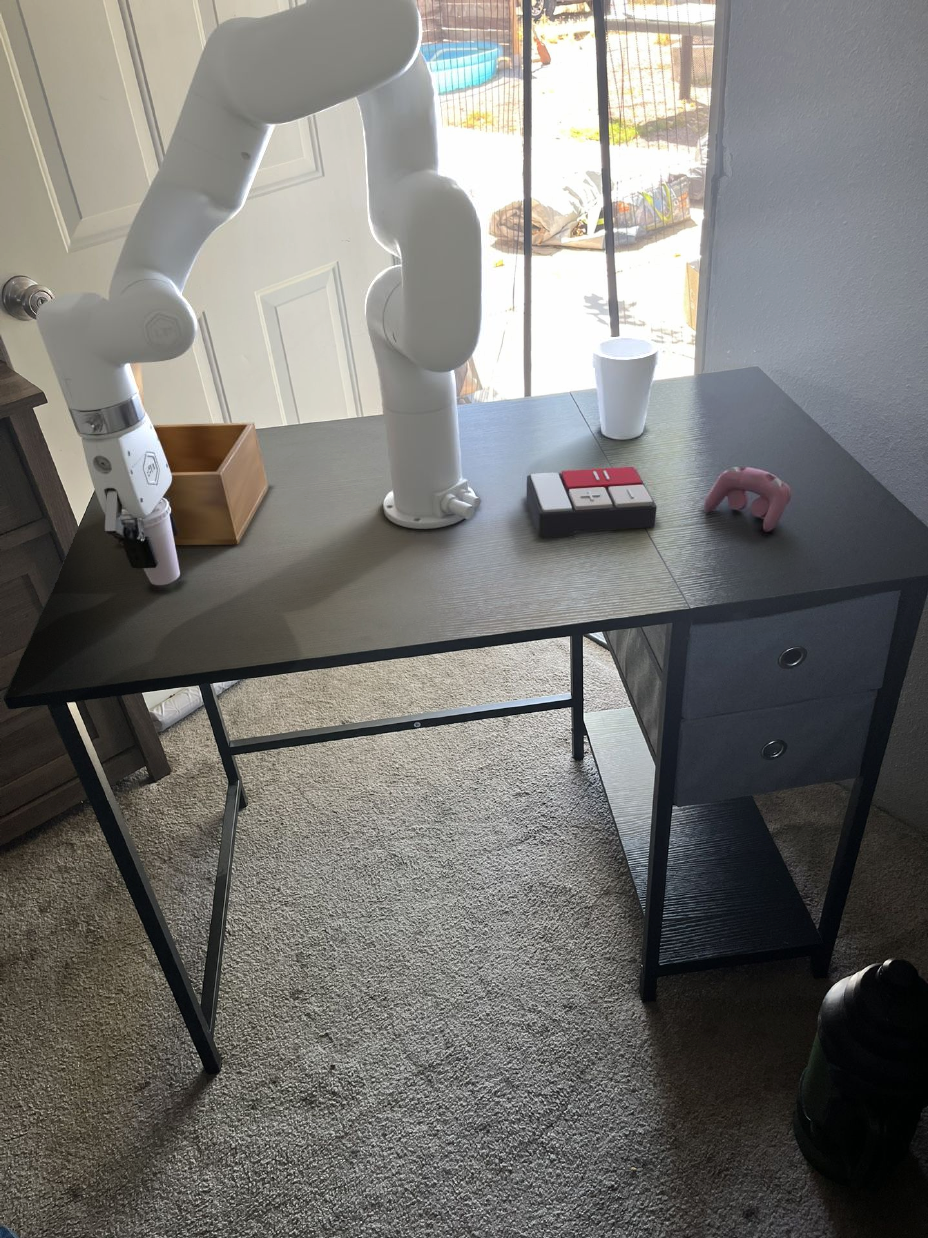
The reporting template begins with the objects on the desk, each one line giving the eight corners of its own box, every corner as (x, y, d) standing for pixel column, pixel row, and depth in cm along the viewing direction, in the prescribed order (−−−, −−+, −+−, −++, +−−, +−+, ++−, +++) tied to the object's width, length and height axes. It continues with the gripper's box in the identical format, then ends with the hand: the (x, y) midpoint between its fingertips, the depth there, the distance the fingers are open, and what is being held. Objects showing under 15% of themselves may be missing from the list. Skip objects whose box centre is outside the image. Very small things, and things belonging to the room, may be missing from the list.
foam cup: (664, 426, 141) (670, 343, 133) (631, 449, 136) (635, 363, 128) (613, 413, 146) (615, 332, 139) (579, 434, 141) (579, 351, 133)
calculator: (658, 501, 115) (540, 509, 114) (654, 531, 118) (539, 538, 117) (636, 462, 124) (526, 469, 123) (633, 491, 127) (525, 498, 125)
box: (268, 488, 133) (254, 422, 127) (237, 544, 121) (220, 474, 115) (162, 490, 135) (143, 425, 129) (121, 545, 123) (98, 476, 117)
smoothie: (177, 592, 110) (141, 490, 102) (129, 590, 112) (90, 489, 103) (199, 563, 115) (167, 462, 107) (153, 561, 117) (118, 462, 108)
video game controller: (782, 534, 117) (801, 480, 115) (768, 533, 113) (787, 478, 111) (713, 511, 122) (730, 460, 121) (698, 510, 119) (715, 457, 117)
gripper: (109, 446, 93) (160, 591, 104) (167, 379, 107) (207, 513, 118) (40, 449, 94) (97, 592, 105) (107, 382, 108) (151, 515, 119)
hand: (155, 549), depth 111 cm, fingers closed on smoothie, 6 cm apart
